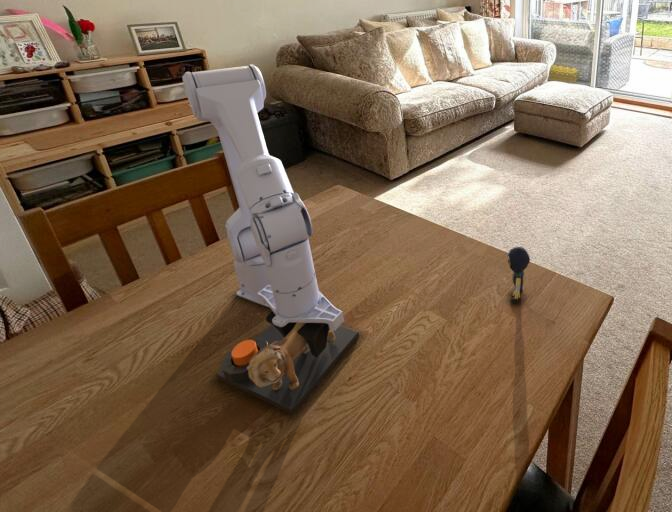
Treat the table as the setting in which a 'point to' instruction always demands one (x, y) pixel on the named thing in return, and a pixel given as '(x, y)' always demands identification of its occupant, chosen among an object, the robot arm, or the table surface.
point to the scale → (305, 369)
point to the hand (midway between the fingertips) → (308, 346)
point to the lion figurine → (280, 360)
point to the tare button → (244, 352)
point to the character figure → (518, 270)
